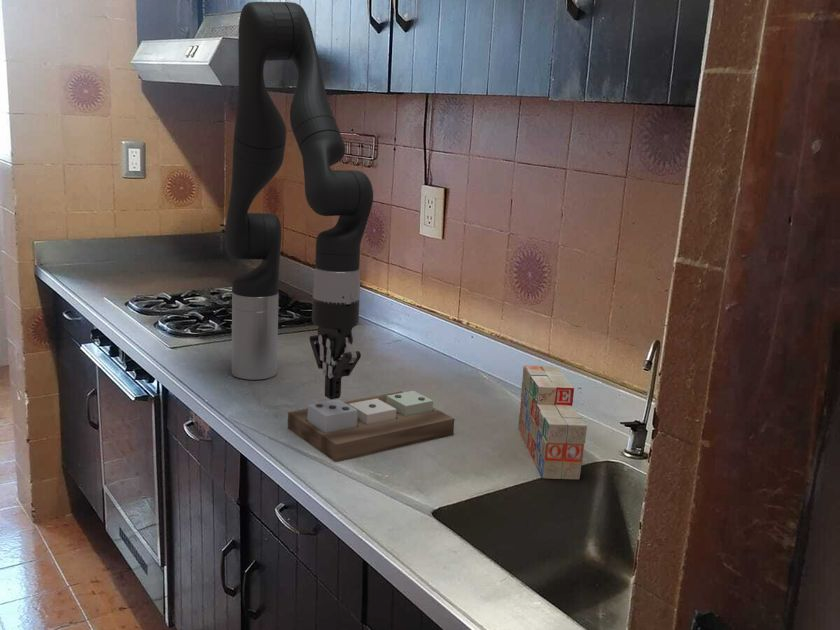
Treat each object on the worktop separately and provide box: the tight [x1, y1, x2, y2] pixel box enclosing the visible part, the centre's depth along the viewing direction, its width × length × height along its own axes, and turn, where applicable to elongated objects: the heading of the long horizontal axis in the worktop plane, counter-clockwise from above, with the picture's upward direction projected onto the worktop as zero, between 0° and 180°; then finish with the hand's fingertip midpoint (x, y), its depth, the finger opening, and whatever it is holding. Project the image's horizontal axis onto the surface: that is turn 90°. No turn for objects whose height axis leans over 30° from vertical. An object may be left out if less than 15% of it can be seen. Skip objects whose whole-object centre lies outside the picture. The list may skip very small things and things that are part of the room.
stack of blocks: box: [517, 365, 588, 480], centre depth 135 cm, size 21×6×12 cm, turn 4°
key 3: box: [307, 398, 357, 433], centre depth 135 cm, size 6×6×3 cm
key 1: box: [348, 399, 396, 425], centre depth 140 cm, size 6×6×3 cm
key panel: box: [287, 391, 455, 463], centre depth 140 cm, size 16×24×3 cm, turn 127°
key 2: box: [386, 390, 434, 417], centre depth 145 cm, size 6×6×3 cm
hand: (332, 397), depth 134 cm, fingers closed
